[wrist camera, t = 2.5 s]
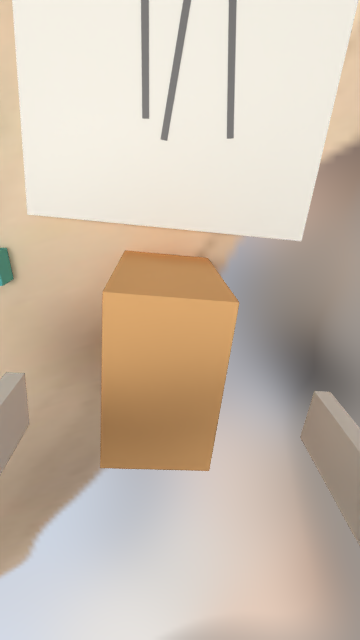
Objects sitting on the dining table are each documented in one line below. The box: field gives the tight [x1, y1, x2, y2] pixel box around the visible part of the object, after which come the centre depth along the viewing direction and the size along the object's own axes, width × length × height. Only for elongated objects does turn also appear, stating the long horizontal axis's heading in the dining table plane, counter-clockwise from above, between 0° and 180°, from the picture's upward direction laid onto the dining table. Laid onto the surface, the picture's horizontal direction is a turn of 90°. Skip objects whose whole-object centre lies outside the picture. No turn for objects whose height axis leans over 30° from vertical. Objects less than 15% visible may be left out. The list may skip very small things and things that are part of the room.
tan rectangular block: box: [100, 251, 239, 471], centre depth 20 cm, size 10×6×10 cm, turn 174°
